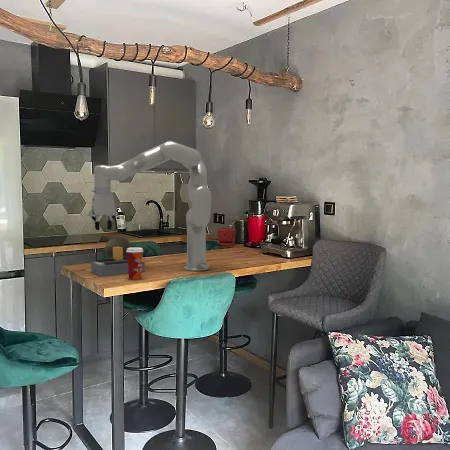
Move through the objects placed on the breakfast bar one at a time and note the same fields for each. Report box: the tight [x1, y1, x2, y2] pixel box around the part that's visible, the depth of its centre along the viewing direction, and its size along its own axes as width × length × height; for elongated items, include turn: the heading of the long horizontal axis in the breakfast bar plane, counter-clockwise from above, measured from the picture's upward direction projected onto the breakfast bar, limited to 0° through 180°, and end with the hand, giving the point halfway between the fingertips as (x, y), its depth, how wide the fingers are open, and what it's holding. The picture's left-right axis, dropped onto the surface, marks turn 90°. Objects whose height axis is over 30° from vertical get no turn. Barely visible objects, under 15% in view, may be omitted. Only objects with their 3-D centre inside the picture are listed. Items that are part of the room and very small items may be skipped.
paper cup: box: [126, 246, 144, 281], centre depth 209 cm, size 8×8×14 cm
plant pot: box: [216, 227, 237, 247], centre depth 328 cm, size 13×13×12 cm
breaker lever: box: [113, 246, 123, 261], centre depth 225 cm, size 5×3×8 cm, turn 36°
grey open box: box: [90, 257, 146, 278], centre depth 225 cm, size 14×22×6 cm, turn 126°
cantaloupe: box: [104, 236, 132, 258], centre depth 244 cm, size 14×14×15 cm
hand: (103, 229), depth 220 cm, fingers open, 5 cm apart
